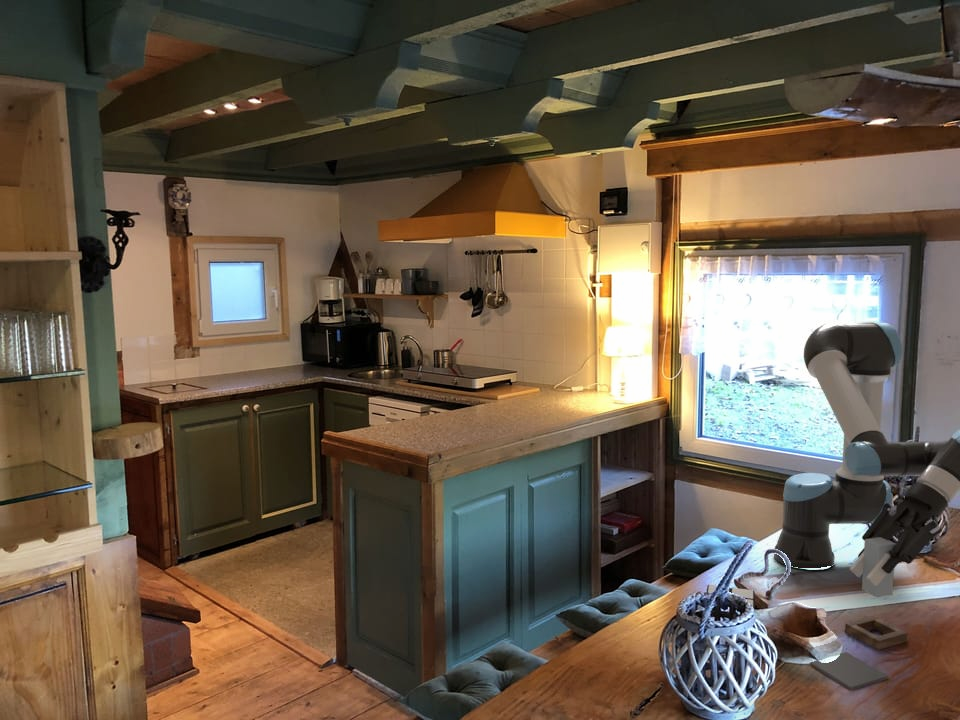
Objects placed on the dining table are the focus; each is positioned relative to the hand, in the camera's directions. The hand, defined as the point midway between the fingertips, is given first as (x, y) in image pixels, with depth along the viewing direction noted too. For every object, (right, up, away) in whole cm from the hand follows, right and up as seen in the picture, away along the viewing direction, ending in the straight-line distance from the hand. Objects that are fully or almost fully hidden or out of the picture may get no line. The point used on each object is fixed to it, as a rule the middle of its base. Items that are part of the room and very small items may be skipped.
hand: (862, 577), depth 161 cm
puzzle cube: (-25, -16, +8) cm, 31 cm away
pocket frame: (+7, -15, +9) cm, 19 cm away
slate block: (+4, -4, +2) cm, 5 cm away
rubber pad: (-5, -17, -5) cm, 19 cm away
